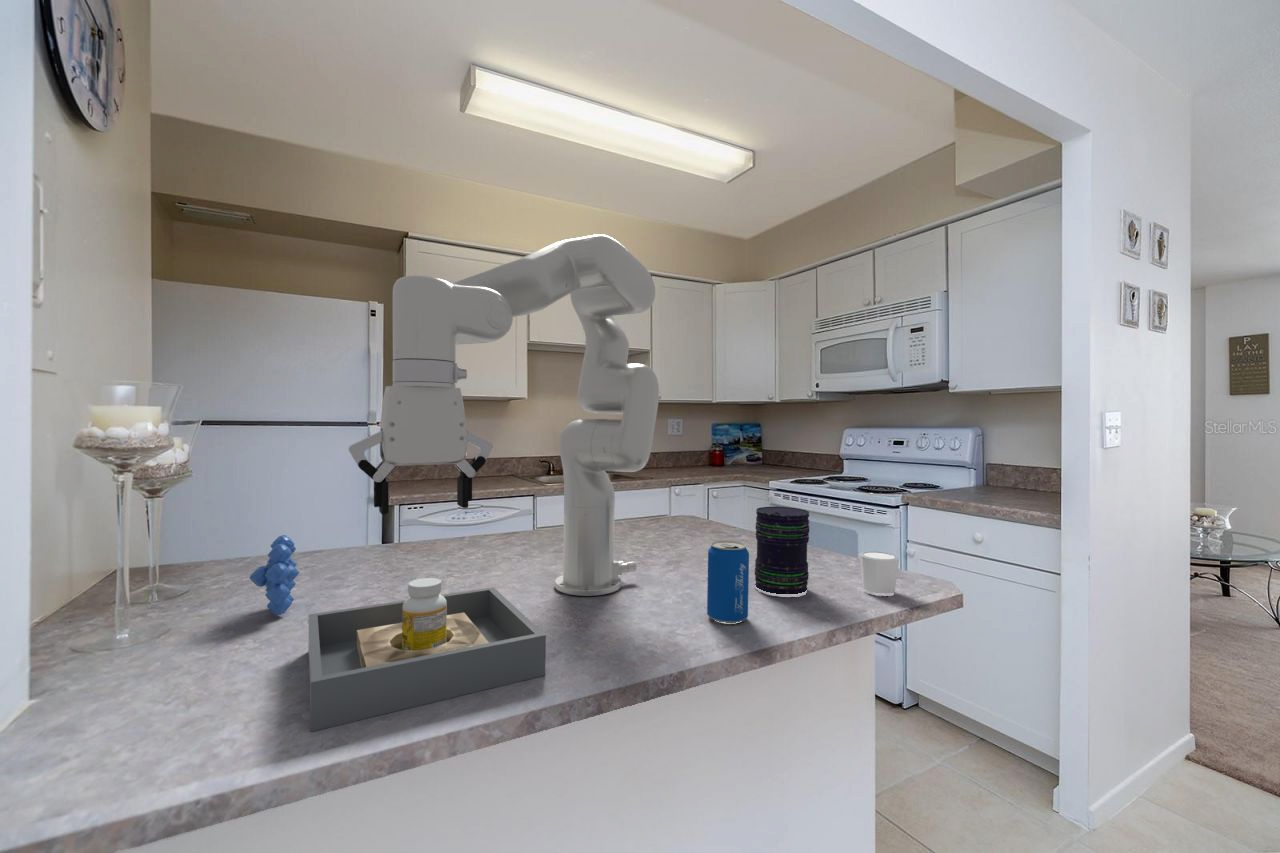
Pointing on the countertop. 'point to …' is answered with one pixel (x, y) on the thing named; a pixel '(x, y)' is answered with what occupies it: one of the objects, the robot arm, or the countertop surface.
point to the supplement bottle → (424, 615)
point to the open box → (416, 659)
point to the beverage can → (728, 581)
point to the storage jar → (782, 550)
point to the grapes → (278, 575)
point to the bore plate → (387, 648)
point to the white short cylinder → (878, 571)
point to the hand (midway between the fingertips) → (424, 509)
